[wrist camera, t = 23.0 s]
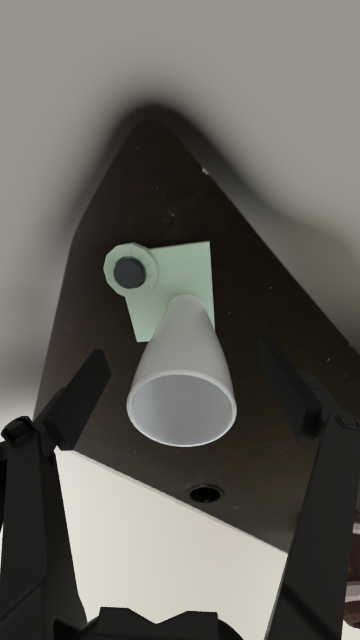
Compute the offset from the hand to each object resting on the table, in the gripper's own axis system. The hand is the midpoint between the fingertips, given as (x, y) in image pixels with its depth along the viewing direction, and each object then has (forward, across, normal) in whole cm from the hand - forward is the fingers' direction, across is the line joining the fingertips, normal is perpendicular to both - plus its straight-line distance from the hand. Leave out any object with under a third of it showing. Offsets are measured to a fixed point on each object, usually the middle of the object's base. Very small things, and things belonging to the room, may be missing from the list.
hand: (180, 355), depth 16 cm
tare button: (+9, -5, +6) cm, 12 cm away
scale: (+11, -2, +2) cm, 11 cm away
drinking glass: (+10, 0, 0) cm, 10 cm away
